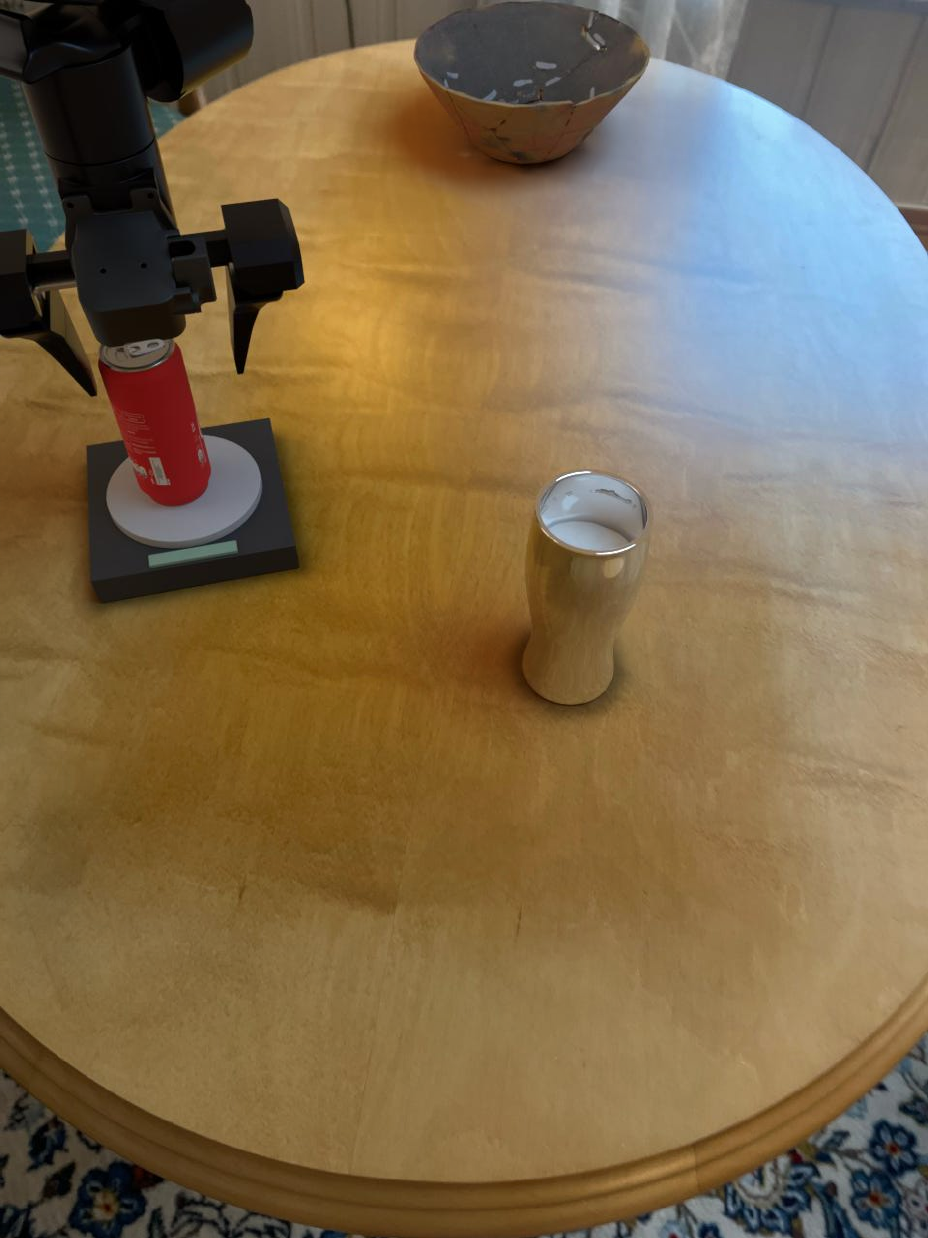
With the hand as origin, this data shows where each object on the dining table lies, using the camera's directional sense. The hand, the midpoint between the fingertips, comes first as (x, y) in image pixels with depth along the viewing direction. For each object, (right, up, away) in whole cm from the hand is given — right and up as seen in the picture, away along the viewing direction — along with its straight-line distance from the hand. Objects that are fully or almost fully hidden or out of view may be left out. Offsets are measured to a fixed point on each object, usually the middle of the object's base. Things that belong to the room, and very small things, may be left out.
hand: (167, 381), depth 63 cm
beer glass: (+26, -19, +3) cm, 32 cm away
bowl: (+26, +38, +47) cm, 66 cm away
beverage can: (-2, -6, +8) cm, 10 cm away
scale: (-1, -8, +10) cm, 13 cm away
